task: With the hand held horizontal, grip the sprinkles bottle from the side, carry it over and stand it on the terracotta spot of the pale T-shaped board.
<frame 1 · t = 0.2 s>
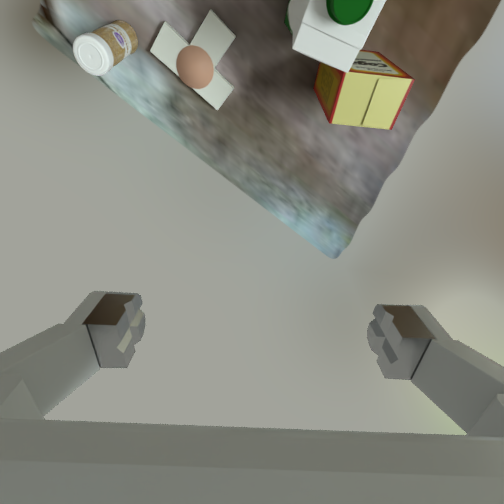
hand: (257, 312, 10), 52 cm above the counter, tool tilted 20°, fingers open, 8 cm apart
sprinkles bottle: (124, 37, 45), on the counter
milk carton: (313, 4, 42), on the counter
tee board: (202, 56, 47), on the counter
baking soda box: (344, 70, 49), on the counter
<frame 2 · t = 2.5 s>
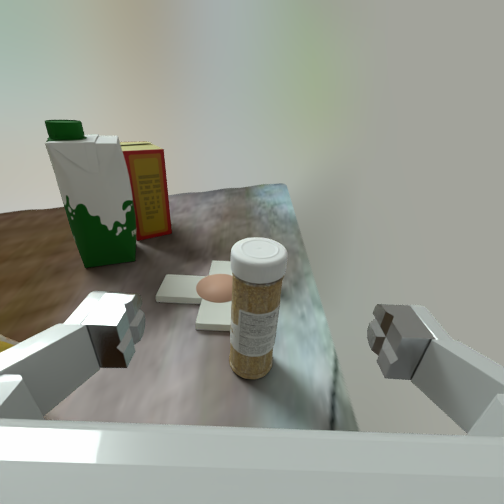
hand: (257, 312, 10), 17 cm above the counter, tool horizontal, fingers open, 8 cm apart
sprinkles bottle: (250, 363, 28), on the counter
milk carton: (112, 255, 46), on the counter
tee board: (205, 292, 38), on the counter
baking soda box: (147, 228, 55), on the counter
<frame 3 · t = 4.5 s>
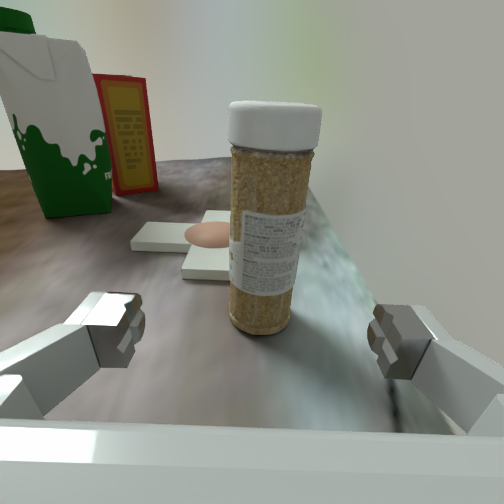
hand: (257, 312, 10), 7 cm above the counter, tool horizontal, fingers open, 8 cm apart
sprinkles bottle: (259, 317, 20), on the counter
milk carton: (83, 208, 37), on the counter
tee board: (197, 241, 29), on the counter
baking soda box: (130, 186, 47), on the counter
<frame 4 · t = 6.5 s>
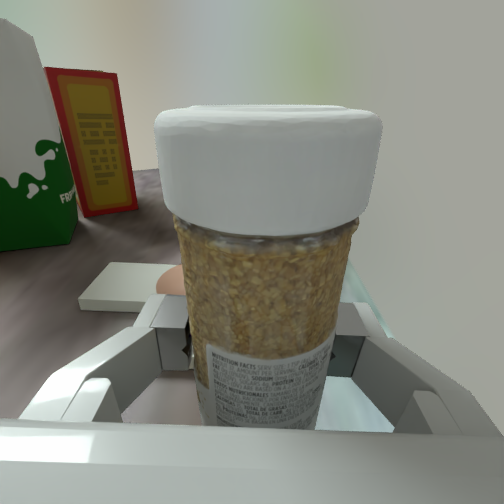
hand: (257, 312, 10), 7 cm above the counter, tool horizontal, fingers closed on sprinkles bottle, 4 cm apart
sprinkles bottle: (257, 453, 12), on the counter, touching gripper
milk carton: (37, 236, 30), on the counter
tee board: (174, 292, 22), on the counter
baking soda box: (105, 203, 39), on the counter
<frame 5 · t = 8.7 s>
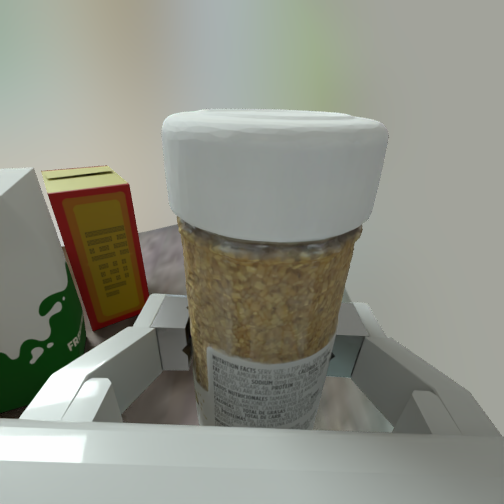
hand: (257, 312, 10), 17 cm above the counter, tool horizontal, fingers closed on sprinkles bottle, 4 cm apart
sprinkles bottle: (253, 455, 12), point 9 cm above the counter, touching gripper
milk carton: (41, 372, 26), on the counter
baking soda box: (114, 299, 36), on the counter
when the fingers open (9 cm above the counter, at t = 10.7 s): sprinkles bottle moves 1 cm, resting on tee board.
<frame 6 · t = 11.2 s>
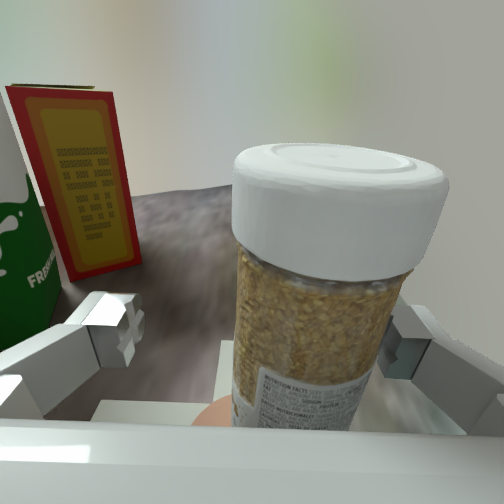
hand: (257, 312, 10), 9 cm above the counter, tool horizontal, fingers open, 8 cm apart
sprinkles bottle: (277, 463, 13), point 1 cm above the counter, touching tee board
milk carton: (1, 322, 21), on the counter
tee board: (206, 466, 13), on the counter
baking soda box: (99, 253, 31), on the counter
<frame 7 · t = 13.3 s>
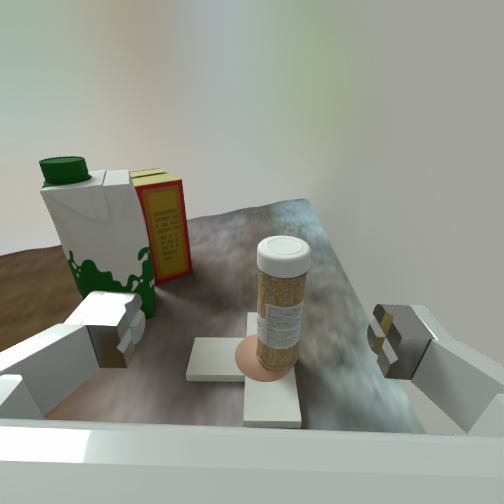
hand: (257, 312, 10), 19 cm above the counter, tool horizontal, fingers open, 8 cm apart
sprinkles bottle: (276, 357, 30), point 1 cm above the counter, touching tee board
milk carton: (126, 308, 38), on the counter
tee board: (246, 361, 30), on the counter
baking soda box: (164, 267, 48), on the counter
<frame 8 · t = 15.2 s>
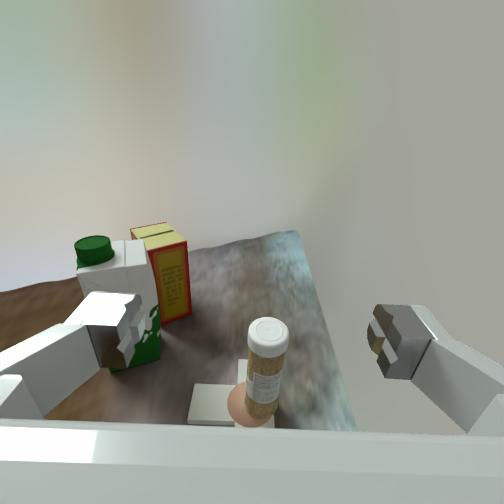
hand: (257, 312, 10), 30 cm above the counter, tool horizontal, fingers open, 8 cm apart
sprinkles bottle: (260, 404, 37), point 1 cm above the counter, touching tee board
milk carton: (135, 350, 45), on the counter
tee board: (235, 406, 37), on the counter
baking soda box: (166, 306, 55), on the counter
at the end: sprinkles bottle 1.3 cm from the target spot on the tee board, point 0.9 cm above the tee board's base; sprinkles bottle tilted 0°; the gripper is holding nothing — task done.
